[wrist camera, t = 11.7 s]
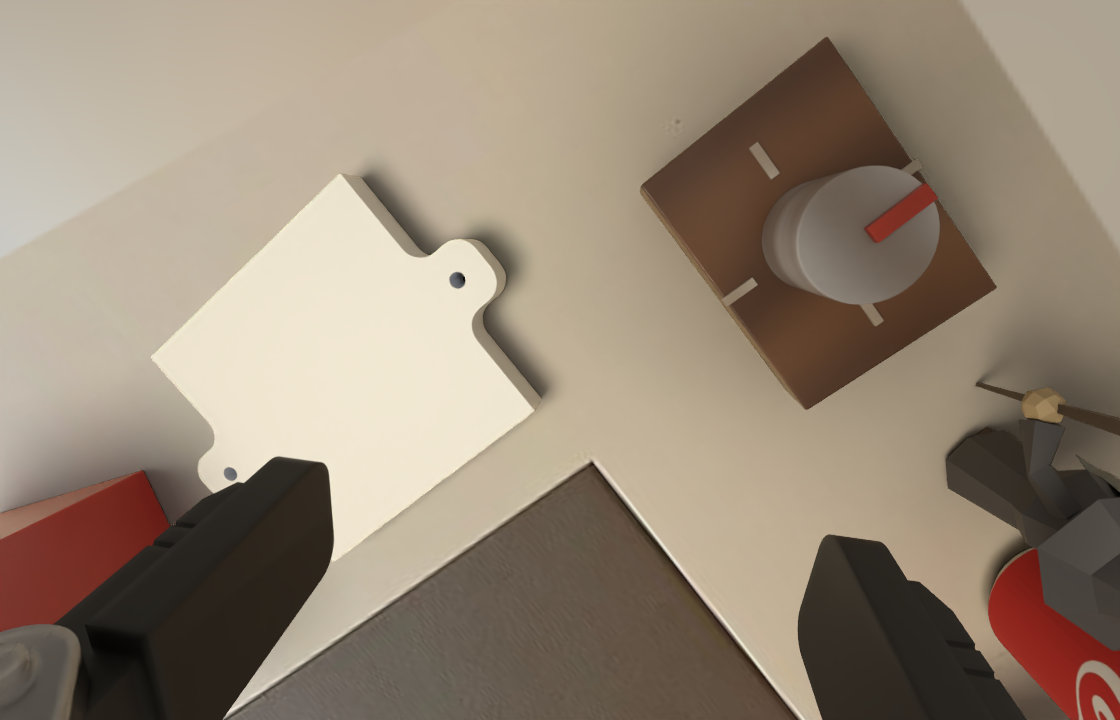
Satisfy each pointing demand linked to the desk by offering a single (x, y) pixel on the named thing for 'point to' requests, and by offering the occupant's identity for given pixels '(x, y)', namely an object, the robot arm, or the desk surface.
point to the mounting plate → (351, 360)
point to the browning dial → (853, 234)
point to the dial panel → (751, 191)
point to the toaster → (72, 546)
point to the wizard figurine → (1052, 507)
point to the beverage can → (1053, 644)
